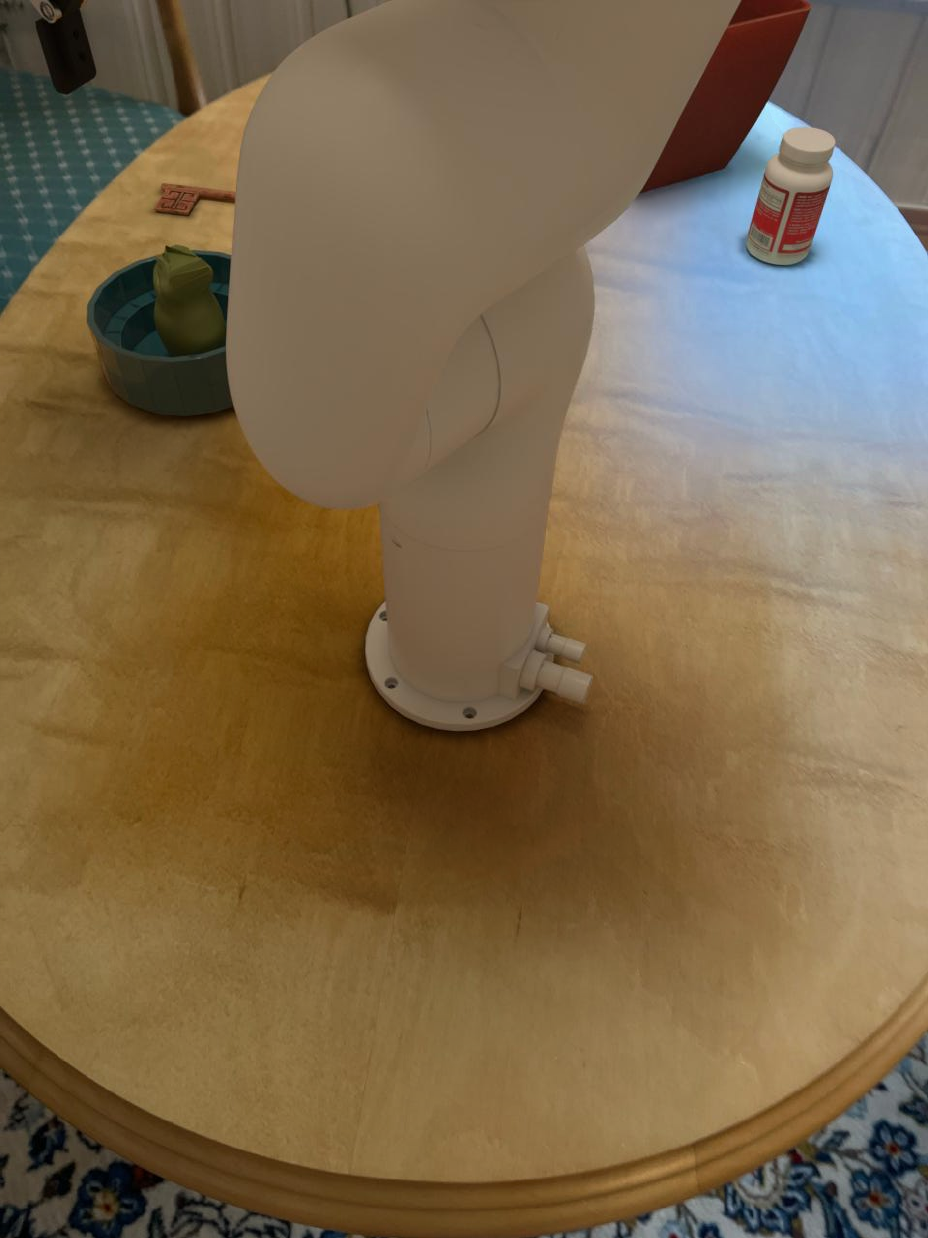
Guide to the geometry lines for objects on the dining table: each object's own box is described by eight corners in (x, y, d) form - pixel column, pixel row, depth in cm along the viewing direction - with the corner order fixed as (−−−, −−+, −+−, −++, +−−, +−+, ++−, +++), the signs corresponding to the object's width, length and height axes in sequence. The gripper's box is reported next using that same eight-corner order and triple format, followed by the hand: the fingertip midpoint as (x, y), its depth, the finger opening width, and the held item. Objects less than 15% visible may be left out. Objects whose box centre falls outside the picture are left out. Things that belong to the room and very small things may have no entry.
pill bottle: (813, 241, 97) (850, 130, 89) (800, 273, 94) (838, 161, 85) (752, 227, 99) (782, 116, 90) (737, 257, 95) (768, 145, 87)
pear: (207, 330, 86) (184, 224, 78) (244, 357, 84) (224, 251, 76) (154, 357, 83) (124, 251, 75) (191, 386, 81) (164, 280, 73)
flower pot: (621, 220, 99) (649, 42, 86) (528, 137, 109) (540, -34, 96) (770, 178, 105) (818, 5, 91) (668, 103, 115) (697, -63, 102)
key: (150, 213, 99) (291, 230, 97) (147, 204, 98) (290, 222, 96) (170, 179, 102) (308, 196, 100) (168, 171, 101) (307, 188, 99)
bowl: (317, 336, 86) (310, 276, 82) (226, 442, 78) (212, 381, 73) (172, 293, 90) (157, 234, 85) (69, 390, 81) (46, 329, 77)
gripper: (-308, -314, 47) (-138, 65, 60) (-26, -275, 42) (88, 124, 56) (-184, -339, 51) (-52, 21, 64) (84, -305, 47) (165, 72, 60)
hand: (13, 69), depth 60 cm, fingers open, 9 cm apart
